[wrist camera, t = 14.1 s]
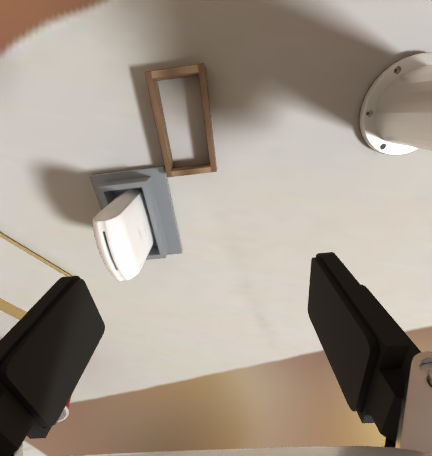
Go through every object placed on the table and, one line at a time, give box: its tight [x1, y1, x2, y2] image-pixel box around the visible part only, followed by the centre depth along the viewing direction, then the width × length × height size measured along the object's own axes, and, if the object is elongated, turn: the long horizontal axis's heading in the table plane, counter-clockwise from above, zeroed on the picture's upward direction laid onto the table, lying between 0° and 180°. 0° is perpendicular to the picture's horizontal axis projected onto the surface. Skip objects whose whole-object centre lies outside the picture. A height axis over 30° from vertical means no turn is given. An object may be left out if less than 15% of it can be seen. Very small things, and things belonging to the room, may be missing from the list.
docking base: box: [90, 166, 182, 260], centre depth 39 cm, size 12×16×4 cm
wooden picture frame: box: [145, 63, 217, 177], centre depth 33 cm, size 8×14×2 cm, turn 7°
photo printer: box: [93, 189, 155, 281], centre depth 35 cm, size 10×4×12 cm, turn 6°
